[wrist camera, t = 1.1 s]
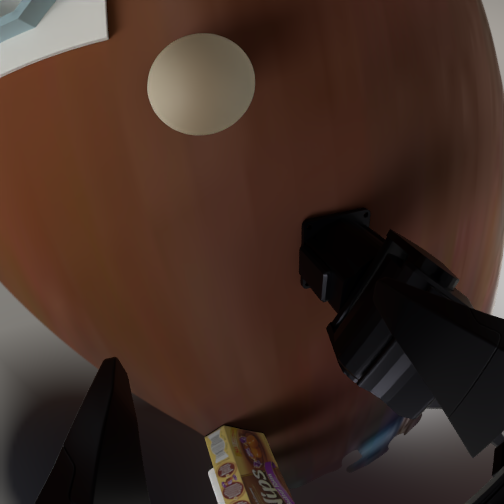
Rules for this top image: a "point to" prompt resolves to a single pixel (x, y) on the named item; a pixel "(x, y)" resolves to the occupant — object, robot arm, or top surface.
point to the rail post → (201, 84)
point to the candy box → (246, 467)
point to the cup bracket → (47, 29)
